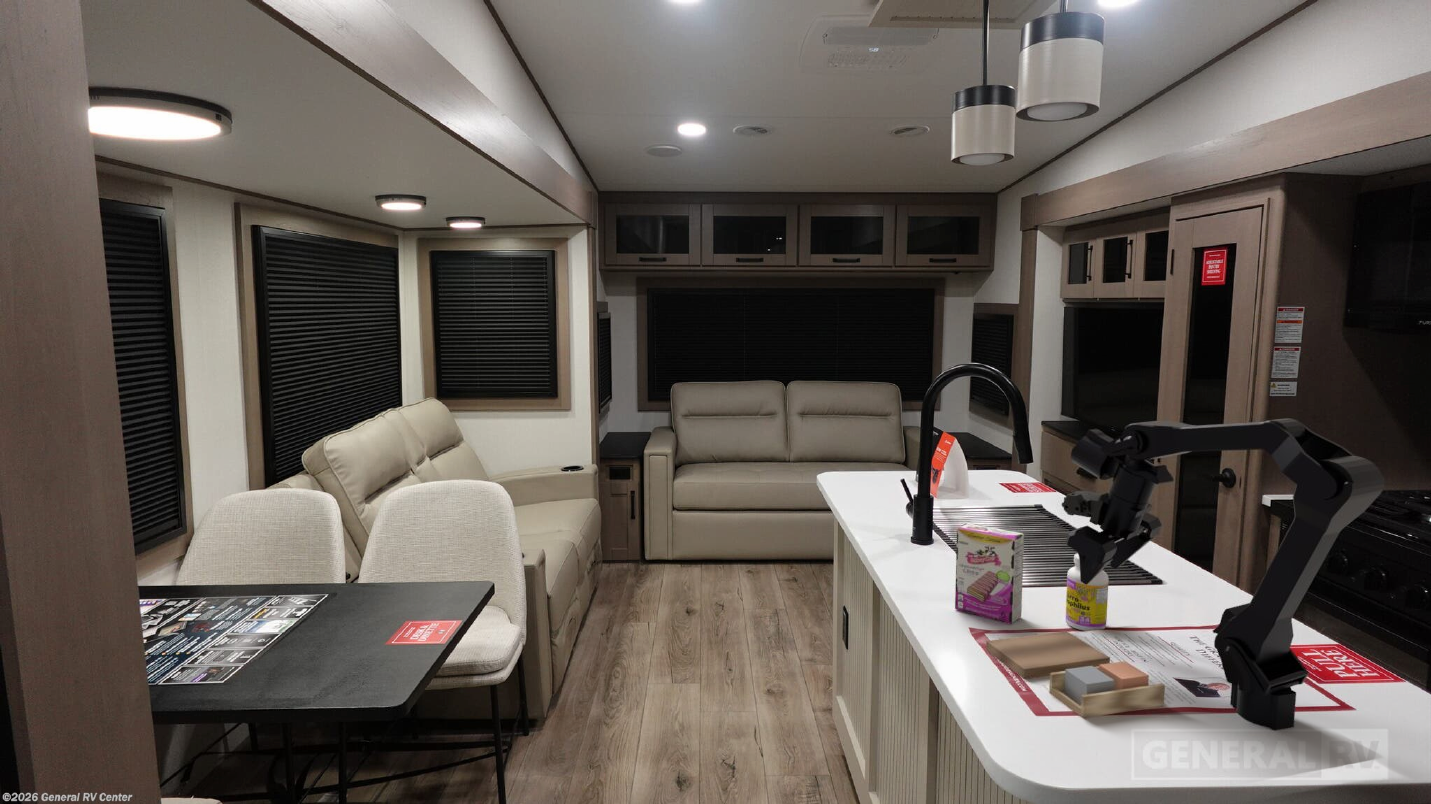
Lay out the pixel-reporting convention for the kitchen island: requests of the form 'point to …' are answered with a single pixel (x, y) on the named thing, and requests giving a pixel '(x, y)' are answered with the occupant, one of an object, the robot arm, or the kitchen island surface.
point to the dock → (1045, 653)
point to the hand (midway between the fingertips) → (1099, 575)
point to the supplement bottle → (1086, 600)
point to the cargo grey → (1086, 682)
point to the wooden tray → (1108, 698)
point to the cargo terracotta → (1124, 675)
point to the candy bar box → (989, 572)
